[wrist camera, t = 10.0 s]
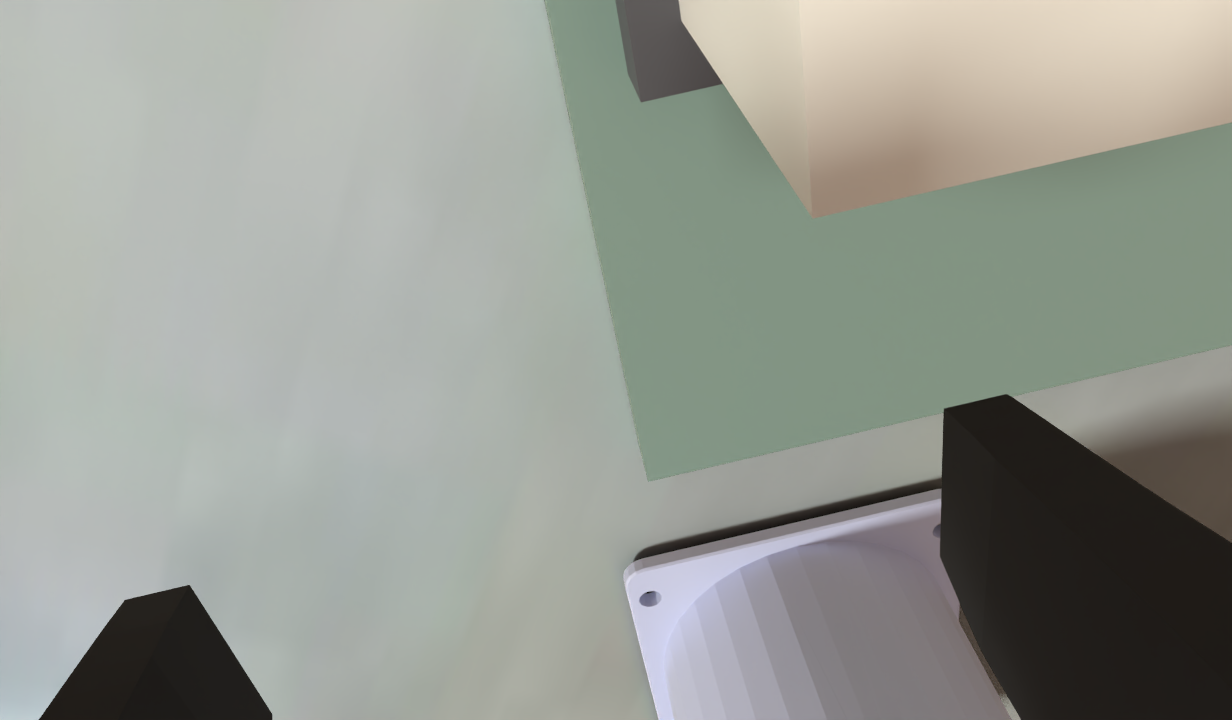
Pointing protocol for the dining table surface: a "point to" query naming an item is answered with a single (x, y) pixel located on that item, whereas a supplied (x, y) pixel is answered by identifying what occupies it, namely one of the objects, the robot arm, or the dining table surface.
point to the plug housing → (959, 84)
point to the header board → (862, 261)
